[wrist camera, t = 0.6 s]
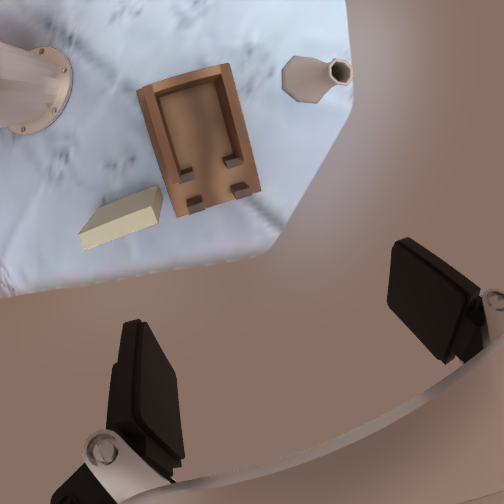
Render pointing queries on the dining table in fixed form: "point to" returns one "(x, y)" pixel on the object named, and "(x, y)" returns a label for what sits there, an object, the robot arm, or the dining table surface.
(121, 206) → the block
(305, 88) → the flask
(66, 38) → the dining table surface
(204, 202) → the cabinet
